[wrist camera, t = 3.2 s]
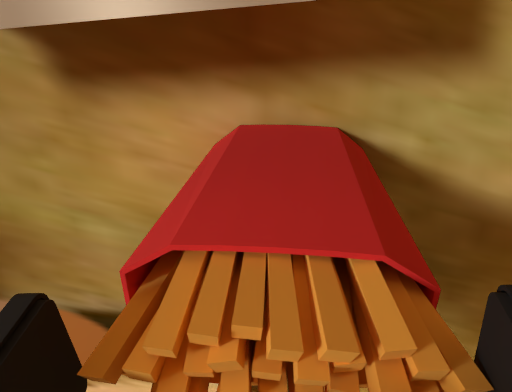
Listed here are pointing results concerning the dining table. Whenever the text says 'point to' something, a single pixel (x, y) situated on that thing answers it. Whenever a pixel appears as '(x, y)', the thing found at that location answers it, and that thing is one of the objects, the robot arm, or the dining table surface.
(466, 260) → the dining table surface
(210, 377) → the french fries
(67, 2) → the marble stand
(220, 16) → the dining table surface
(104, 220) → the dining table surface
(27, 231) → the dining table surface
